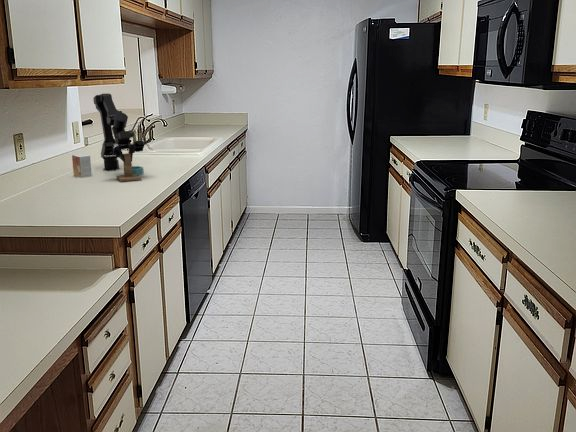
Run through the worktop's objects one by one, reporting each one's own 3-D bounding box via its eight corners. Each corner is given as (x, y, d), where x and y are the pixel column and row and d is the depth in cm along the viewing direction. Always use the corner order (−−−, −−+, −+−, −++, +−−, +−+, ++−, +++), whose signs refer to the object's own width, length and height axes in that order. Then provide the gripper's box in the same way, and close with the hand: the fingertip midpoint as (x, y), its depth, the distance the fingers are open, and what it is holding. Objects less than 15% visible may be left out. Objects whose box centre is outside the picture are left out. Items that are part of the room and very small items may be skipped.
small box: (73, 176, 273) (71, 155, 270) (84, 174, 277) (82, 153, 274) (81, 178, 267) (79, 156, 265) (92, 176, 271) (90, 155, 269)
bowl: (121, 174, 276) (120, 167, 275) (136, 172, 283) (136, 165, 282) (131, 177, 270) (130, 170, 269) (146, 174, 277) (146, 167, 276)
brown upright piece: (116, 178, 264) (114, 153, 261) (135, 176, 269) (133, 151, 266) (121, 181, 257) (119, 156, 253) (141, 179, 261) (139, 154, 258)
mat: (115, 179, 265) (114, 178, 265) (136, 177, 270) (136, 176, 270) (120, 183, 256) (120, 182, 256) (142, 181, 261) (142, 180, 261)
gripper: (102, 125, 255) (110, 152, 248) (142, 123, 264) (150, 149, 258) (99, 140, 263) (107, 166, 257) (138, 137, 272) (146, 163, 266)
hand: (128, 161), depth 259 cm, fingers closed on brown upright piece, 3 cm apart
